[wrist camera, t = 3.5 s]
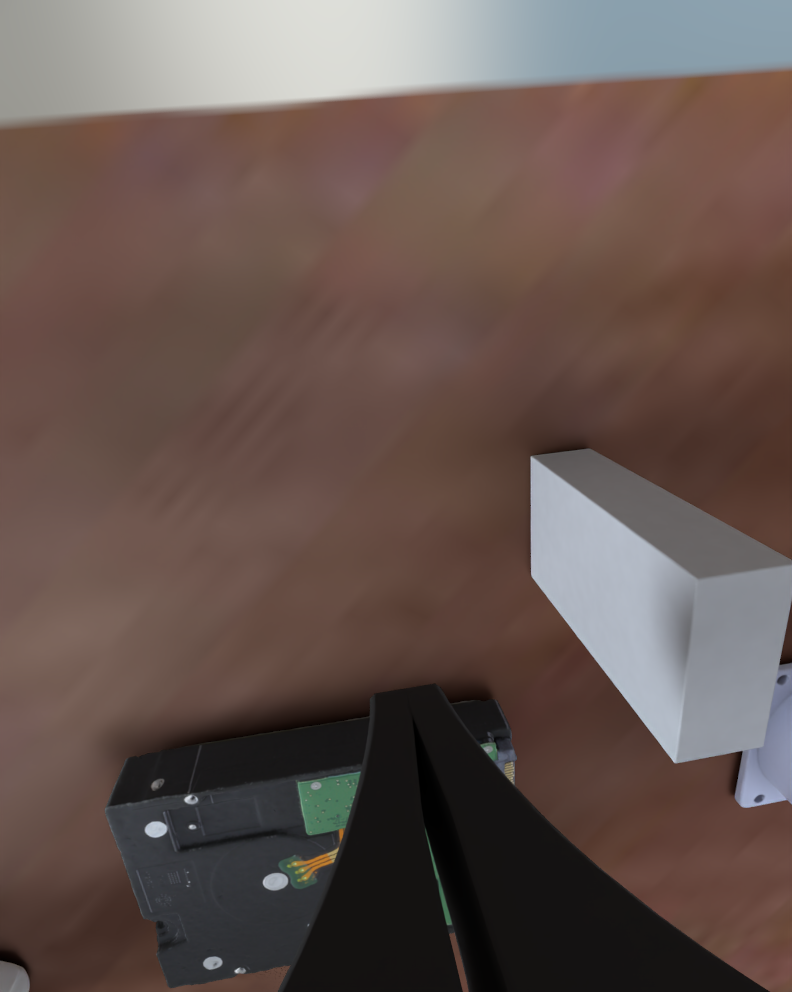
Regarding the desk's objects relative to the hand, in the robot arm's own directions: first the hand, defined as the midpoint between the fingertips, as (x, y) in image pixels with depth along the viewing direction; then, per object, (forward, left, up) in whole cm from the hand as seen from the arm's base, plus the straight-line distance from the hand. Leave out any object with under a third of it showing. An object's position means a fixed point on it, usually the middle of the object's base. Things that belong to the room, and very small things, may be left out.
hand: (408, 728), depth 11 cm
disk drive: (+3, +13, -9) cm, 16 cm away
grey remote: (-7, 0, -9) cm, 11 cm away
